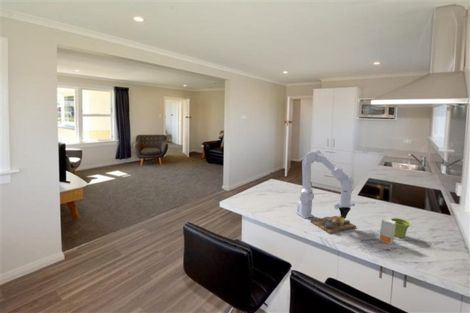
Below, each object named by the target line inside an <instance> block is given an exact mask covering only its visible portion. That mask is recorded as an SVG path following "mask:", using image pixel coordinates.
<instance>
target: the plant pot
mask: <svg viewBox="0 0 470 313" xmlns="http://www.w3.org/2000/svg"><path fill="white" fill-rule="evenodd" d="M390 220H392V221H395V222H396V226H395V233H394V238H398V239H404V238H405V237H406V233H407V231H408V229H409V226H411V223H410V221H408V220H406V219H404V218H403V219H402V218H397V217H393V218H392V217H391V218H390Z"/></svg>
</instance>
